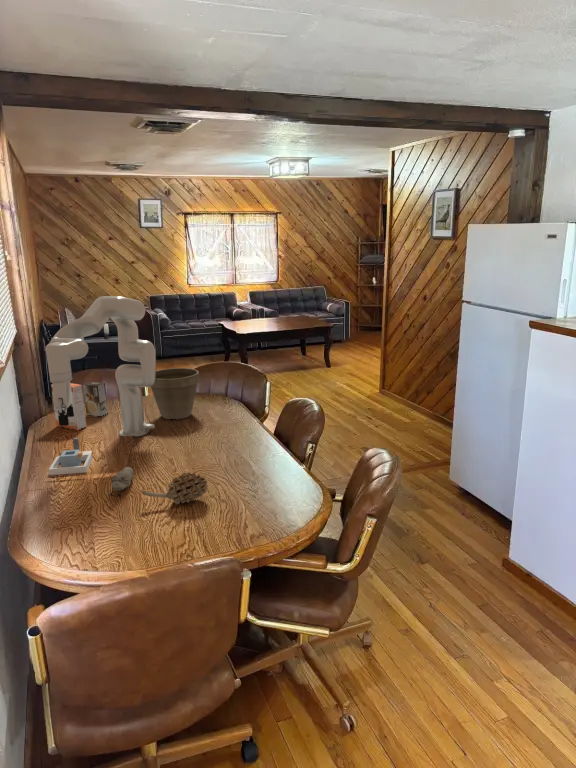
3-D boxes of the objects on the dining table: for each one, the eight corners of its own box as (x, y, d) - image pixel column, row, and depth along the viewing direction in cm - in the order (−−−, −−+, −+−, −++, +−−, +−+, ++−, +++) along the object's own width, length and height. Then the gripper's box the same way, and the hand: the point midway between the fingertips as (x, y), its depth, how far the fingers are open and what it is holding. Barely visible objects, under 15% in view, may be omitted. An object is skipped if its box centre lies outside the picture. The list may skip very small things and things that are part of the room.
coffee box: (109, 413, 284) (106, 382, 280) (101, 417, 278) (98, 385, 274) (93, 412, 287) (90, 381, 283) (85, 415, 281) (82, 384, 277)
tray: (92, 462, 221) (91, 453, 221) (86, 475, 209) (85, 466, 208) (57, 464, 219) (56, 456, 219) (49, 478, 207) (48, 469, 206)
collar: (65, 465, 216) (63, 450, 215) (84, 463, 218) (83, 449, 216) (61, 471, 211) (59, 456, 209) (81, 469, 212) (80, 455, 210)
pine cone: (206, 492, 193) (204, 465, 191) (210, 504, 184) (209, 476, 182) (139, 502, 187) (137, 474, 184) (141, 515, 178) (139, 486, 175)
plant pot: (145, 412, 285) (142, 370, 279) (193, 405, 295) (191, 365, 289) (156, 426, 263) (153, 381, 257) (207, 418, 273) (205, 375, 267)
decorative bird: (138, 479, 205) (136, 460, 203) (123, 499, 189) (121, 479, 187) (123, 479, 205) (121, 460, 203) (107, 499, 190) (105, 479, 188)
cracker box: (55, 427, 264) (50, 384, 259) (66, 423, 269) (60, 381, 264) (77, 431, 258) (71, 387, 253) (87, 427, 263) (82, 384, 258)
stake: (92, 453, 230) (90, 434, 228) (88, 461, 222) (86, 441, 220) (67, 455, 229) (64, 435, 227) (62, 463, 220) (59, 443, 218)
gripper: (55, 371, 213) (61, 414, 217) (44, 383, 196) (51, 429, 201) (76, 370, 214) (81, 412, 219) (66, 382, 198) (72, 427, 202)
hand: (67, 420), depth 210 cm, fingers open, 9 cm apart
